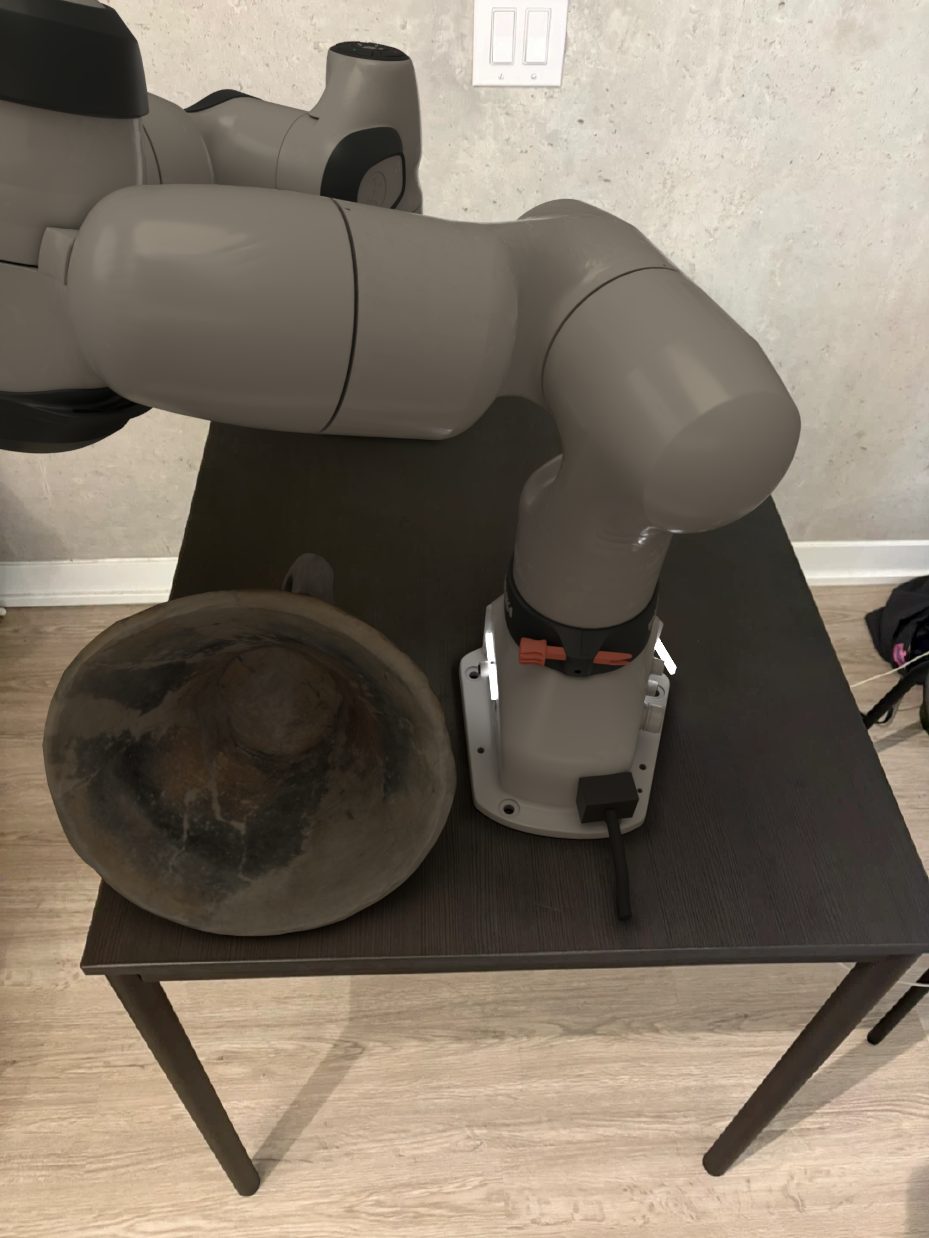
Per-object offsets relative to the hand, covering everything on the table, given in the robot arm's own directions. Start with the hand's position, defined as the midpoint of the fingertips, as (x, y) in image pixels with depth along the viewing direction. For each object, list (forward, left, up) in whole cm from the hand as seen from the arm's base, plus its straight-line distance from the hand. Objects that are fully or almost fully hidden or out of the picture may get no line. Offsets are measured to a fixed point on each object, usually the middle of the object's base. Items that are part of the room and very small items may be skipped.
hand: (386, 349), depth 97 cm
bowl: (-45, +2, -3) cm, 45 cm away
